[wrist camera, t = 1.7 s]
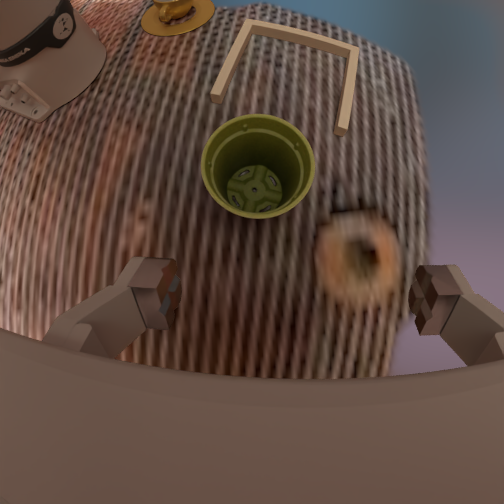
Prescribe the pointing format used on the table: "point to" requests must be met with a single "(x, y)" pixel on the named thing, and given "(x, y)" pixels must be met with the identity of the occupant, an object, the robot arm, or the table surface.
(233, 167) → the plant pot
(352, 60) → the frame
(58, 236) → the table surface
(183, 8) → the cup
